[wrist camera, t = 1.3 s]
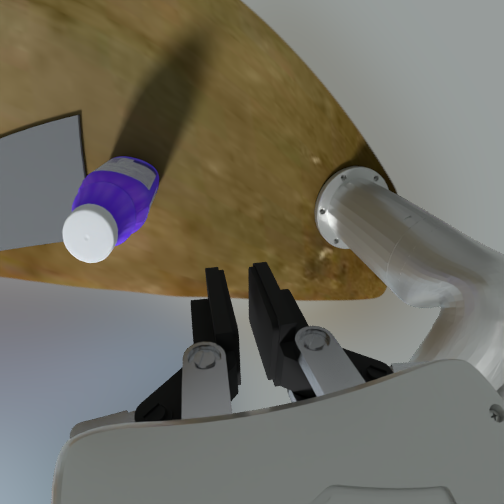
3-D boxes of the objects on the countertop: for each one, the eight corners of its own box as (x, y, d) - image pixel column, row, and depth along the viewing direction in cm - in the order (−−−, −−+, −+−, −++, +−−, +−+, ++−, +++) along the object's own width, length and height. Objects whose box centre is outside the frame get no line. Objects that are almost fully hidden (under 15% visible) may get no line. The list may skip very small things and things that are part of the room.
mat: (79, 114, 27) (77, 115, 27) (97, 235, 35) (95, 237, 34) (-30, 151, 23) (-32, 151, 23) (-7, 250, 31) (-9, 252, 31)
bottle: (99, 192, 32) (42, 260, 17) (110, 148, 30) (48, 187, 15) (152, 206, 35) (130, 285, 20) (165, 164, 33) (146, 214, 18)
